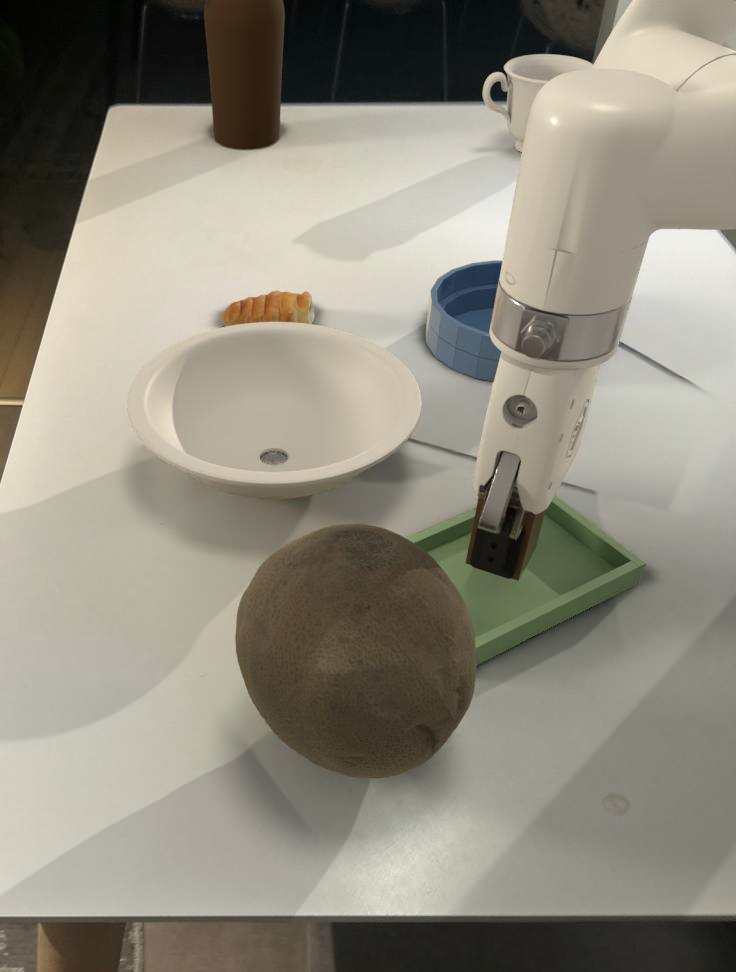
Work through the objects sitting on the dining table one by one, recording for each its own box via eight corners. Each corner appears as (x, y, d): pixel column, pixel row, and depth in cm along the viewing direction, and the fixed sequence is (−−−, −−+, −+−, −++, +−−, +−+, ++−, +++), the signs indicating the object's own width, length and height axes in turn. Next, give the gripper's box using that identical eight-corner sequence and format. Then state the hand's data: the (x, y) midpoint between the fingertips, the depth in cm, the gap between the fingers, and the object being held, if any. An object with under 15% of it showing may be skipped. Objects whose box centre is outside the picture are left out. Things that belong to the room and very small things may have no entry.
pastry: (220, 345, 96) (218, 309, 93) (225, 313, 101) (224, 278, 98) (313, 347, 96) (314, 311, 93) (314, 314, 100) (315, 279, 98)
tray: (531, 502, 78) (536, 481, 76) (639, 583, 71) (646, 562, 70) (356, 579, 72) (357, 558, 70) (454, 677, 65) (459, 656, 63)
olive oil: (250, 157, 131) (246, -66, 113) (194, 140, 136) (182, -76, 118) (299, 136, 136) (302, -80, 118) (244, 120, 141) (239, -90, 123)
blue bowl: (513, 292, 103) (522, 247, 99) (625, 358, 93) (639, 310, 90) (392, 333, 97) (397, 286, 94) (499, 407, 88) (508, 358, 84)
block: (483, 532, 71) (497, 466, 67) (535, 548, 70) (553, 482, 66) (465, 563, 69) (478, 497, 65) (518, 581, 68) (535, 514, 63)
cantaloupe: (448, 657, 66) (482, 482, 55) (466, 833, 56) (512, 662, 46) (246, 650, 67) (240, 476, 56) (229, 821, 57) (219, 651, 46)
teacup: (460, 138, 135) (470, 58, 128) (559, 130, 137) (575, 50, 130) (489, 170, 127) (502, 86, 120) (595, 160, 129) (614, 77, 121)
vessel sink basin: (105, 538, 76) (93, 470, 71) (165, 378, 92) (159, 314, 87) (409, 563, 73) (419, 494, 68) (416, 393, 89) (424, 328, 85)
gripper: (582, 400, 50) (516, 642, 63) (655, 271, 60) (585, 503, 73) (446, 365, 52) (410, 604, 65) (538, 247, 62) (491, 475, 76)
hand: (503, 549), depth 69 cm, fingers closed on block, 4 cm apart
